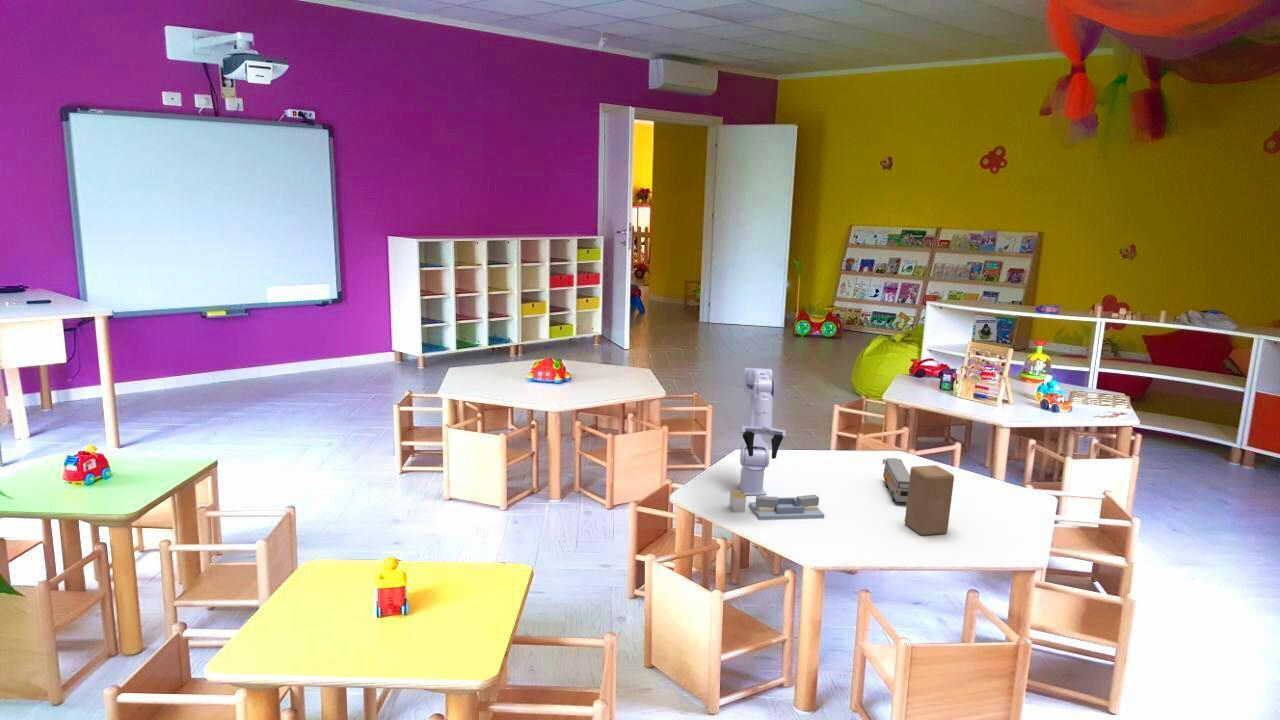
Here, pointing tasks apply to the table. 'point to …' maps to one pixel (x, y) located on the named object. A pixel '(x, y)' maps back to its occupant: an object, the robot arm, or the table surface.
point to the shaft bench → (786, 507)
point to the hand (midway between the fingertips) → (762, 457)
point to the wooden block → (929, 500)
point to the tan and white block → (737, 500)
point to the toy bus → (896, 479)
